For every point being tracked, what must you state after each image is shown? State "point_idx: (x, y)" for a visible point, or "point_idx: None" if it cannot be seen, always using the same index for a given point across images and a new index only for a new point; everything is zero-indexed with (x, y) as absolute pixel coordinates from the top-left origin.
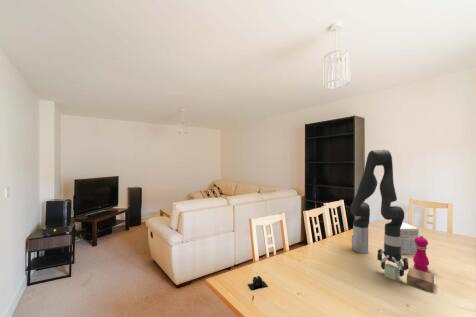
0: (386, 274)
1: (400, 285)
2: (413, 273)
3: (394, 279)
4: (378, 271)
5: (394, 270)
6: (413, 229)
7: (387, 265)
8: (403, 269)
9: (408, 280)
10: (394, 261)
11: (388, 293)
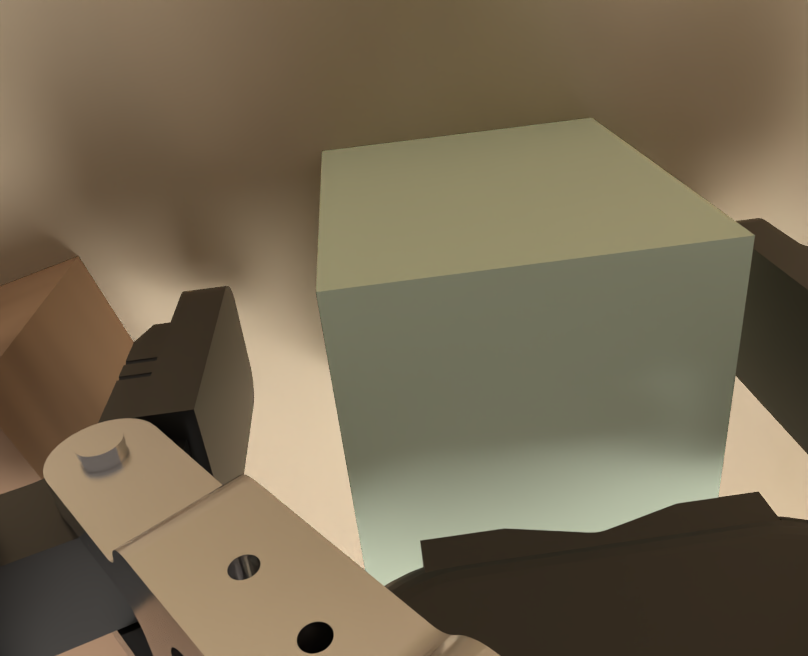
0: (560, 141)
1: (63, 8)
2: None
3: (332, 156)
4: (791, 183)
5: (332, 258)
6: None
7: (663, 313)
8: (37, 489)
9: (5, 320)
10: (430, 611)
11: None
